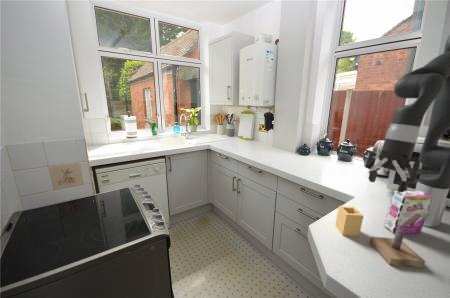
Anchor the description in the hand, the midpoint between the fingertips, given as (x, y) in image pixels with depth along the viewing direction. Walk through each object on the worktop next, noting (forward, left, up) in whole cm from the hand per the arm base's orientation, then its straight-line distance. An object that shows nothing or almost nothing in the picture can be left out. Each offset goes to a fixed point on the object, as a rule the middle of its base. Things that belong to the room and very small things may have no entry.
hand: (385, 186), depth 66 cm
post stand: (-5, +5, -22) cm, 23 cm away
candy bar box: (-18, -9, -23) cm, 30 cm away
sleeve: (+5, -6, -22) cm, 24 cm away
